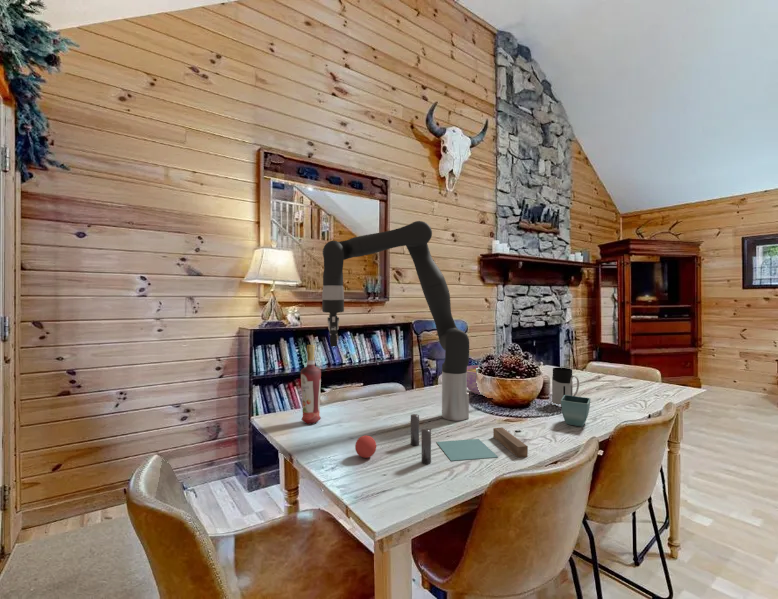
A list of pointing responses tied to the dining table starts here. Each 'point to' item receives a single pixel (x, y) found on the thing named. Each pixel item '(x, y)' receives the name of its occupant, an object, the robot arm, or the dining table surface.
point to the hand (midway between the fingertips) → (333, 344)
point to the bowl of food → (472, 379)
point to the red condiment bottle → (311, 389)
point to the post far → (414, 430)
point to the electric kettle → (562, 384)
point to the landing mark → (466, 449)
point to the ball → (365, 446)
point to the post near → (426, 445)
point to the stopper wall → (510, 442)
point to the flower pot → (575, 409)
